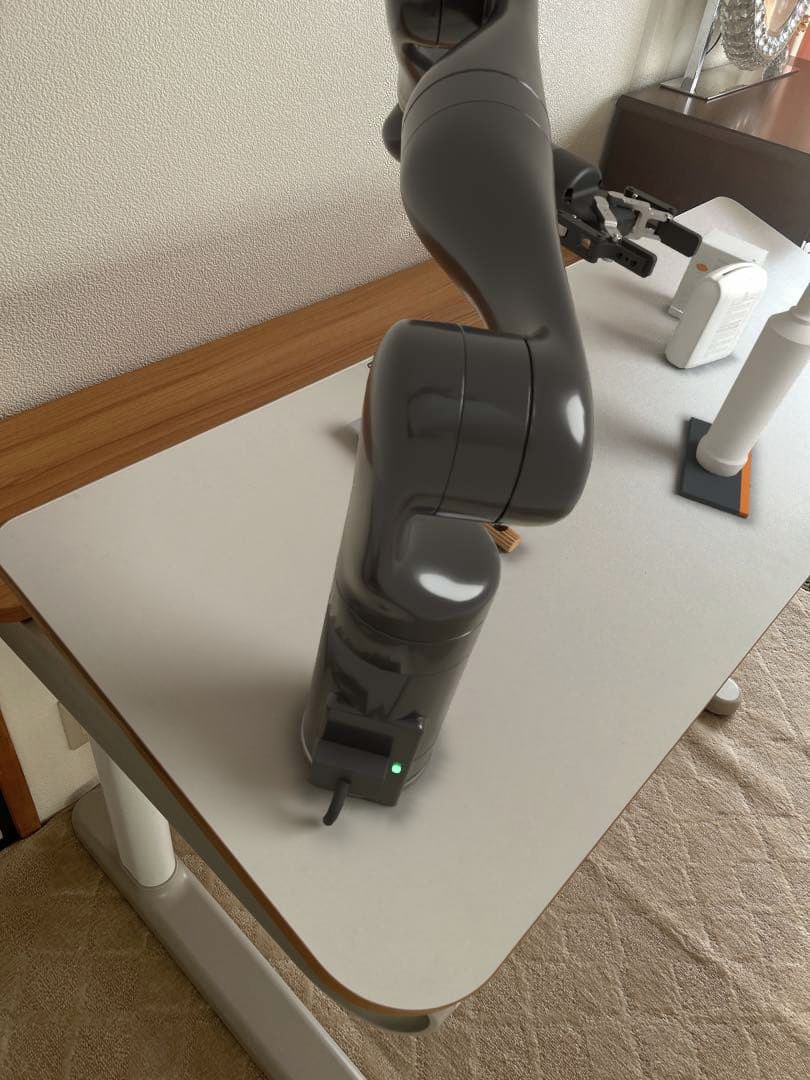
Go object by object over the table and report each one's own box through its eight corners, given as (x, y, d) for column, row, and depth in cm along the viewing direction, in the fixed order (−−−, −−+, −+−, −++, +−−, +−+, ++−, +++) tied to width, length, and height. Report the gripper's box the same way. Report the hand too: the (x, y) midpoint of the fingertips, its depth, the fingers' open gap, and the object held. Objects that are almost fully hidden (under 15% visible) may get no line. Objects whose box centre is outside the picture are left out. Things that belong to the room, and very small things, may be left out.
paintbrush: (375, 400, 86) (532, 526, 79) (369, 421, 88) (522, 546, 81) (346, 413, 83) (506, 544, 76) (341, 435, 85) (496, 565, 78)
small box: (733, 323, 118) (771, 251, 111) (721, 339, 114) (760, 265, 107) (678, 298, 120) (712, 225, 113) (665, 313, 116) (699, 239, 109)
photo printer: (708, 338, 114) (753, 250, 105) (734, 357, 112) (781, 268, 103) (657, 354, 108) (700, 263, 100) (682, 374, 106) (728, 282, 98)
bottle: (708, 479, 92) (838, 259, 74) (685, 446, 95) (803, 228, 77) (749, 477, 93) (885, 261, 76) (724, 444, 97) (849, 231, 79)
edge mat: (746, 518, 89) (749, 514, 89) (679, 495, 90) (682, 490, 89) (749, 441, 99) (752, 437, 99) (689, 420, 100) (691, 416, 99)
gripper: (511, 157, 83) (652, 236, 76) (594, 136, 91) (728, 205, 85) (490, 232, 88) (621, 312, 82) (571, 206, 97) (695, 276, 90)
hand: (675, 257), depth 83 cm, fingers open, 8 cm apart
